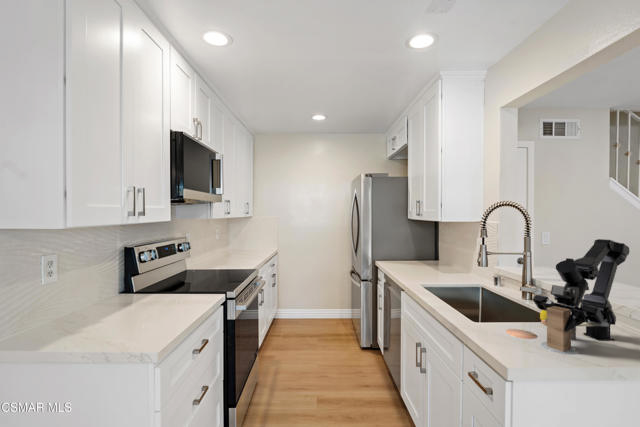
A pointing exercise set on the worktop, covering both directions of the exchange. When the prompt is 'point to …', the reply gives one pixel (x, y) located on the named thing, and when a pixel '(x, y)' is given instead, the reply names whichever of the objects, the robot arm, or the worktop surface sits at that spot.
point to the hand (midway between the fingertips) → (556, 328)
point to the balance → (573, 330)
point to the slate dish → (571, 351)
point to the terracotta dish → (521, 333)
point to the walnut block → (558, 328)
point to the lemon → (543, 315)
